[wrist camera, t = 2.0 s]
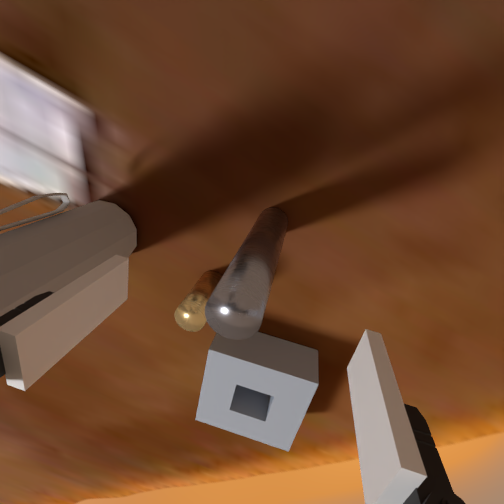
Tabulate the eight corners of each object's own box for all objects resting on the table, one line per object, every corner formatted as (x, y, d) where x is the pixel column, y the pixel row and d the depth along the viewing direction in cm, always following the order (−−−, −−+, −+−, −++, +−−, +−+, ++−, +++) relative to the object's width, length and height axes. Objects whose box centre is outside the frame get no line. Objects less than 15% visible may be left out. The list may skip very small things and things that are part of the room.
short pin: (202, 267, 33) (176, 301, 27) (227, 275, 33) (206, 310, 26) (199, 289, 34) (173, 326, 28) (223, 296, 34) (202, 335, 28)
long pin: (262, 204, 29) (209, 283, 14) (291, 211, 28) (267, 300, 14) (255, 231, 30) (201, 329, 15) (283, 239, 30) (254, 346, 15)
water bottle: (150, 257, 34) (-176, 520, 11) (93, 258, 35) (-290, 487, 13) (130, 178, 30) (-402, 329, 8) (67, 182, 32) (-517, 318, 9)
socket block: (222, 320, 35) (209, 349, 31) (318, 350, 34) (318, 384, 30) (208, 387, 40) (195, 419, 36) (291, 414, 39) (288, 451, 35)
